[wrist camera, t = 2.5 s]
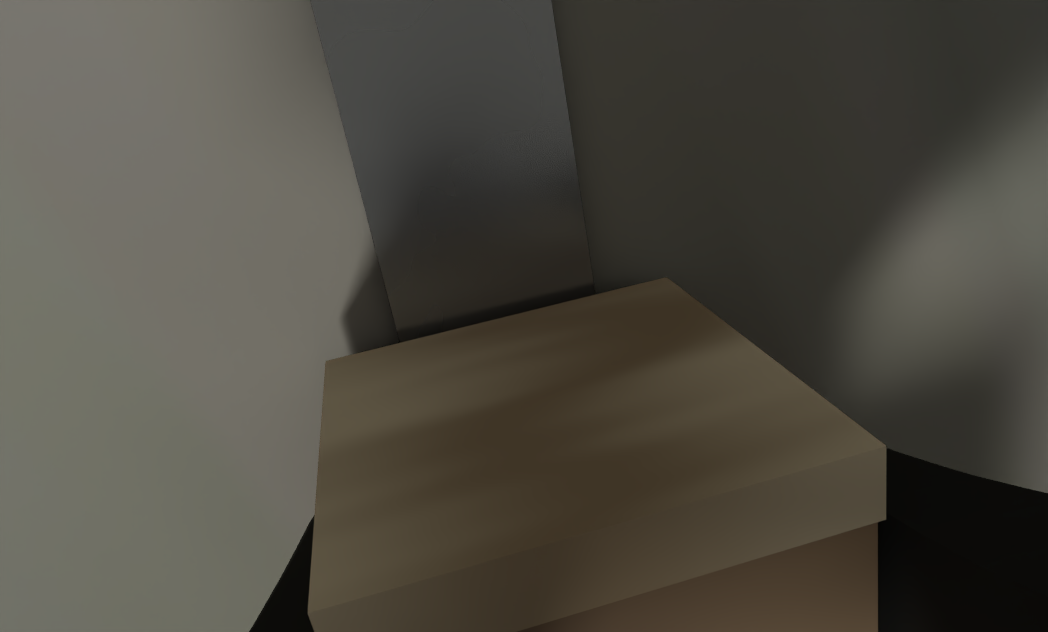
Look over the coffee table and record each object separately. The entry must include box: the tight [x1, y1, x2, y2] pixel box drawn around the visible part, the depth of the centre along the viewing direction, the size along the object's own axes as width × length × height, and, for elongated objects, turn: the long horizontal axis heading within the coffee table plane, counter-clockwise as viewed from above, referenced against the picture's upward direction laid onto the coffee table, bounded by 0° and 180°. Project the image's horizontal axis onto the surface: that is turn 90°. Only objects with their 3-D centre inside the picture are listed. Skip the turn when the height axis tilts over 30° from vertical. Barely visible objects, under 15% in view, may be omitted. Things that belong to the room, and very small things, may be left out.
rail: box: [310, 0, 596, 343], centre depth 13 cm, size 3×30×1 cm, turn 10°
